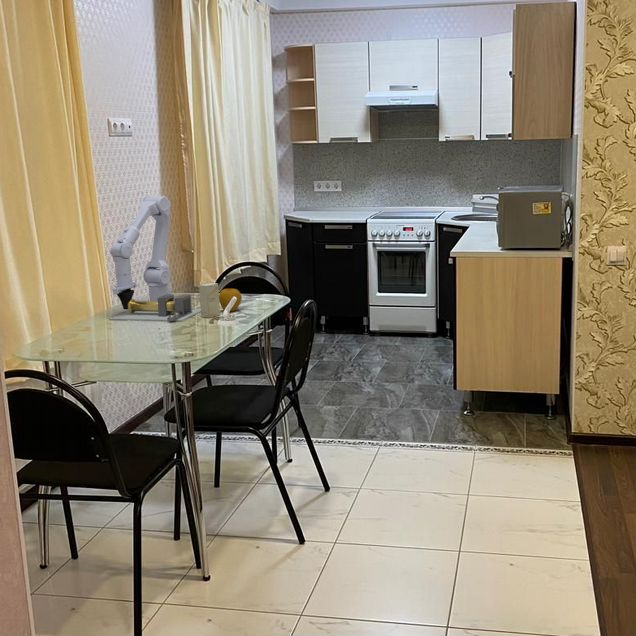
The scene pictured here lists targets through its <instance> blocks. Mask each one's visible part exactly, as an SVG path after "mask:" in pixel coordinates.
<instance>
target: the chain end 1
mask: <svg viewBox="0 0 636 636" xmlns="http://www.w3.org/2000/svg"><path fill="white" fill-rule="evenodd" d="M174 298H175V294H172V293H171V294H166V295H164V296H161V297H159V298H157V300H158V311H159V316H162V317H166V316H169V315H171V314H173V313H175V312H167V305H166V301H175V300H174Z"/></svg>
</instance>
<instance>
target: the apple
mask: <svg viewBox="0 0 636 636" xmlns="http://www.w3.org/2000/svg"><path fill="white" fill-rule="evenodd" d="M234 296H235V297H236V298H237V300H236V302H235V303H234V305H233V307H232V308H231V310H230V311H229V313H230V312H231V313H232V311H233V312H235V311H236V310H237V309H238V308H239V306H240V305H241V302H242V299H243V297H242V294H241V292H240V291H239V290H238V289H237V288H224V289H221V291H219V303H220V307H221V308H222V309H223V311H224V310H225V309H226V307H227V306H228V304H229V303H230V301H231V299H232V298H233V297H234Z"/></svg>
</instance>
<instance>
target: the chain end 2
mask: <svg viewBox="0 0 636 636" xmlns="http://www.w3.org/2000/svg"><path fill="white" fill-rule="evenodd" d="M174 301H175V312H176V313H174V315H169V318H167V320H168V321H167V322H176V321H175V320H177V319H180V318H182V317H184V316H186V315H188V314H190V313H192V310H193V308H192V307H193V306H192V297H191V294H180V295H179V296H176V297H174Z"/></svg>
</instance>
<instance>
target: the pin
mask: <svg viewBox="0 0 636 636" xmlns="http://www.w3.org/2000/svg"><path fill="white" fill-rule="evenodd" d="M166 305H167V312H175V300H174V301H166ZM127 311H129V312H130V313H134V312H135V311H139V312H159V311H158V301H150V300H135V298H134V299H133V298H132V299H131V300H129V302H128V310H127Z"/></svg>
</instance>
